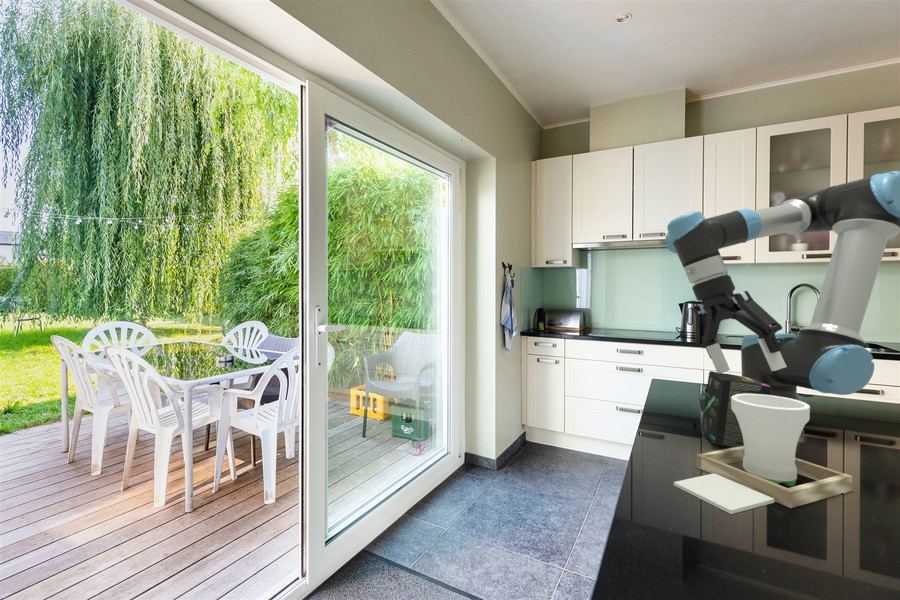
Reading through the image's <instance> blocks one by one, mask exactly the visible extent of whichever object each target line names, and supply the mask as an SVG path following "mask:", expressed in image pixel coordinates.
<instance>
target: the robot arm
mask: <svg viewBox="0 0 900 600" xmlns="http://www.w3.org/2000/svg"><path fill="white" fill-rule="evenodd" d="M666 228H667V233H666V234H665V237H664V239H665V245H666V247H667V249H668V251H670V252H671V253H674V254H677V256H678V258H679V261H680V263H681V265H682V267H683V269H684V272H685V276H686V277H687V279H688V282H689V283H690V284H692V287H691V288H692V292H693V294H694V297H695V298H696V300H697V301H698V302H700V301H701V302H702V303H700V304H697V305H695V306H693V308H692V309H693V312H694V318H695V321H694V322H695V325H694V326H695V328H694V330H695V344H696V345H698V346H699V345H702V346H703V347H704V348H705V349H706V353H707V354H708V356H709V358H710V360H711V362H712V364H713V366H714V368H715V372H717V373H718V374H720V373H726V372H730V371H731V369H730V367H729V364H728V362H727V359H726V358H725V355H724V353H723V351H722V348H721V345H720V344H719V342H718V341H717V340H716V339H717V337H718V336H717V335H718V332H719V328H720V324H721V322H722V321H724V320H725V321H726V320H730V319H731V320H735V321H737V322H739V323H740V324H742V325H743V326H744V327H745V328H746V329H749V331H751V332H753V333H754V334H746V335H745V336H743V337H742V340H741V348H740V354H741V355H740V356H741V357H740V359H741V360H740V361H741V376H743V377H749V378H754V379H756V380H758V381H760V382H762V383H764V384H766V385H768V386H770V387H771V395H773V396H780V397H786V398H791V399H795V400H799V401H801V400H800V398H799V396H798V392H797V387H800V388H805V389H808V390H814V391H817V392H819V393H823V394H834V395H840V396H845V395H846V396H848V395H852V394H854V393H856V392H860V391H861V390H863V389H864V388H865V387H866V386H867V385H868V383H869V382H870V381H871V379H872V377H873V374H874V372H875V371H874V370H875V363H874V362H873V360H874V357H873V355H872V353H871V352H870V351H869V350H868V349H866V348H865V347H866V343H867V342H866V341H865V340H864V339H863V337H861V335H860V332H861V331H860V330H861V328H862V325H863V321H864V319H865V315H866V311H867V309H868V305H869V302H870V299H871V296H872V292H873V289H874V286H875V282H876V280H877V276H878V272H879V270H880V267H881V264H882V260H883V256H884V254H885V250H886V247H887V244H888V240H889V239H891V238H893V237H896V236H897V235H899V233H900V171H899V170H894V171H888V172H885V173H876V174H874V175H872V176H868V177H865V178H861V179H857V180H854V181H853V180H851V181H849V182H845V183H841V184H836V185H832V186H829V187H825V188H822V189H820V190H818V191H813V192H811V193H809V194H806V195H803V196H798V197H796V198H795V197H794V198H792V199H788V200H785V201H783V202H782V203H781V204H780V205H776V206H770V207H765V208H759V209H756V210H754V209H750V208H743V209H736V210H733V211H730V212H727V213H724V214H719V215H715V216H711V217H707V218H705V216H704V215H703V213H702V212H701V211H700V210H699V211H698V210H696V211H690V212H687V213H685V214H682V215H680V216H678V217H675V218H674V219H672V220H671V221H669V222H668V224H667V226H666ZM832 231H833V232H834V233H835V234H836V235H837V237H836V241H835V244H834V247H833V250H832V253H831V256H830V257H831V258H830V260H829V263H828V267H827V270H826V272H825V276H824V279H823V283H822V285H821V287H820V288H821V289H820V292H819V296H818V298H817V301H816V303H815V304H816V305H815V308H814V311H813V314H812V318H811V321H810V324H809V325H807V326H804V327H802V328H799V331H798V334H796V333H794V332H793V333H792V332H791V333H788V332H787V333H786V332H785V333H784V332H783V333H778V332H779V331H781V330H782V329H783V326H782V324H780V323H779V322H778V321H777V320H776V319H775V318H774V317H773V316H772V315H770V313H768V312H767V311H766V310H765V309H764V308H763V307H762V306H760V304H759V303H757V302H756V300H754V299H753V297H752V296H751V294H750V293H749V291H748V290H744V291H740V292H738V293H734V291H735V290H736V286H735V284H734V282H733V280H732V277H731V275H729V274H726V273H727V272H728V271H729V270H728V268H727V265H726V264H725V262H724V260H723V257H722V255H721V253H720V249H724V248H729V247H731V246H734V245H739V244H744V243H745V244H746V243H747V242H749V241H752V240H756V239H760V238H762V239H763V238H766V237H770V236H775V235H780V234H788V235H799V234H804V233H817V232H818V233H819V232H832Z"/></svg>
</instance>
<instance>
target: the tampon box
mask: <svg viewBox="0 0 900 600" xmlns="http://www.w3.org/2000/svg"><path fill="white" fill-rule="evenodd" d="M736 394H765V395H771V387H770V386H768V385H766V384H764V383H762V382H760V381H758V380H756V379H754V378H749V377H743V376H742V375H736V374H731V373H725V372H723V373H720V374H718V373H717V371H711V370H710V371H709V372H708V379H707V386H706V390H705V399H704V407H703V412H702V413H703V414H702V420H701V424H700V425H701V426H700V430H701V431H702V433H704V435H706V437H707V438H708V439H709V441H711V442H712V443H713V444H714V445H718V446H724V447H727V448H734V447H740V446H744V441H743V435H742V432H741V429H740V425H739V422H738V420H737V418H736V415H735V413H734V412H733V411H732V409H731V397H732V396H733V395H736Z"/></svg>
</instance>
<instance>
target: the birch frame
mask: <svg viewBox="0 0 900 600" xmlns="http://www.w3.org/2000/svg"><path fill="white" fill-rule="evenodd" d="M744 455H745V453H744V446H740V447H734V448H731V447H728V448H724V449H719V450H715V451H709V452H708V451H707V452H704V453H698V454H696V456H695V457H696V458H695V459H696V460H695V462H696V466H695V468H697V469H699V470H701V471H704V472H706V473H708V474H713V473H715V474H717V475H720V476H722V477H724V478H727V479H729V480H731V481H734V482H736V483H739V484H741V485H743V486H746V487H748V488H750V489H753V490H755V491H757V492H760V493H762V494H764V495H767V496H769V497H771V498H774V499H775V502H776V503H778V504H780V505H782V506H785V507H787V508H789V509H792V508H795V507H800V506H803V505H808V504H810V503H814V502H817V501H820V500H824V499H828V498H831V497H836V496H839V495H842V494H841V493H843V494H845V493H846V494H847V493H849V492H853V476H852V475H849V474H847V473H843V472H841V471H837V470H834V469H831V468H828V467H825V466H822V465H818V464H816V463H813V462H810V461H807V460H803V459H801V458H797V457H795V465H796V467H797V475H800V476H802V475H803V477H805V478H809V479H812V480H814V481H811V482H807V483H803V484H798V485H794V486H790V487H786V486H783V485H780V484H776V483H773V482H771V481H768V480H765V479H763V478H760V477H758V476H755V475H753V474H750V473H748V472H745V470H742V469H739V468H737V467H736V466H735V467H734V466H732V465H731V464H734V463H740V462H743V457H744Z"/></svg>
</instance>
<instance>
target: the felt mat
mask: <svg viewBox="0 0 900 600" xmlns="http://www.w3.org/2000/svg"><path fill="white" fill-rule="evenodd" d="M673 486H674V487H676V488H678V489H680V490H682V491H683V492H685V493H688V494H690V495H692V496H694V497H696V498H697V499H700V500H701V501H704V502H706V503H708V504H710V505H711V506H714V507H715V508H717V509H719V510H722V511H723V512H725V513H728V514H729V515H733V514H737V513H741V512H744V511H748V510H752V509H755V508H759V507H763V506H768V505H770V504H774V503H775V499H774V498H771V497H769V496H767V495H764V494H762V493H760V492H757V491H755V490H753V489H750V488H748V487H746V486H743V485H741V484H739V483H736V482H734V481H731V480H729V479H727V478H724V477H722V476H720V475H717V474H715V473H713V474H710V473H708V474H704V475H701V476H695V477H691V478H687V479H686V478H685V479H682V480H681V479H680V480H677V481H676V480H675V481H673Z"/></svg>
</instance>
